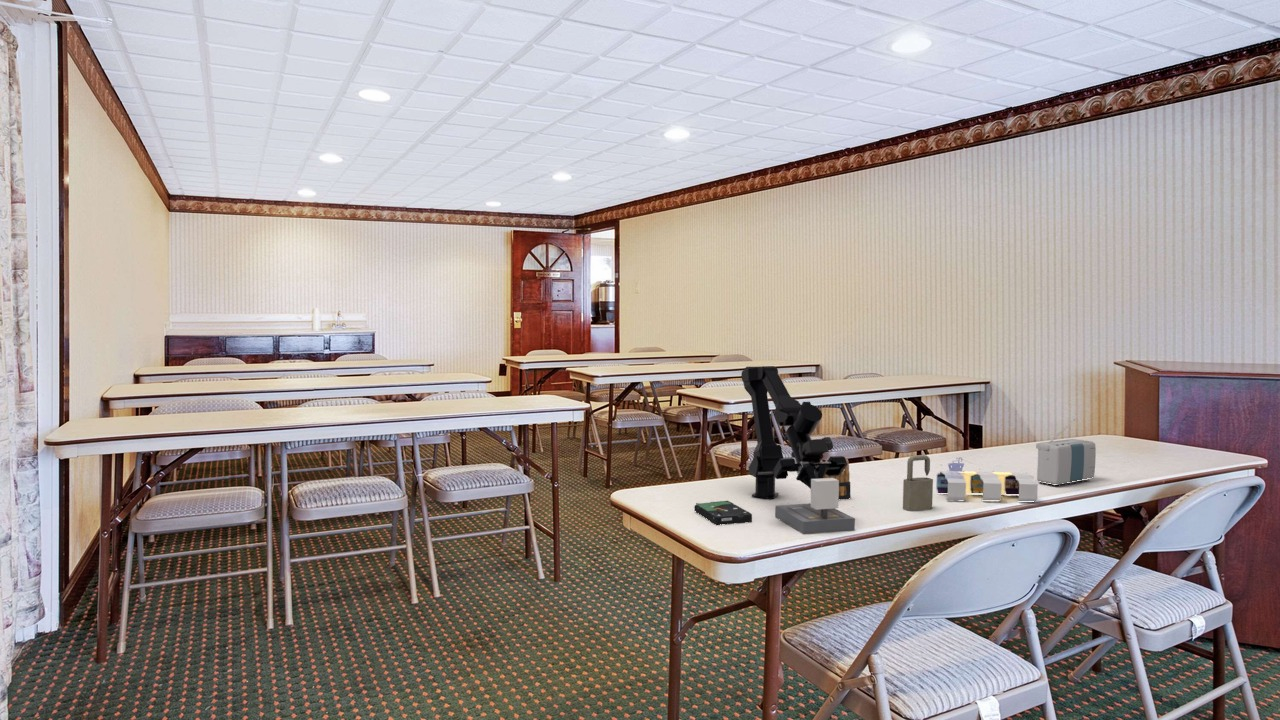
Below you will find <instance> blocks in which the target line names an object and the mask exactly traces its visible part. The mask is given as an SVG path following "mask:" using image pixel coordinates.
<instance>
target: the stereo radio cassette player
mask: <svg viewBox="0 0 1280 720" xmlns="http://www.w3.org/2000/svg"><path fill="white" fill-rule="evenodd" d="M1074 421H1076V419H1075V418H1073V420H1072V421H1071V422H1070V423H1068V424H1067V425H1066V426H1065V427H1064V428H1062V429H1061V430H1060V431H1059V432H1057V434H1056V435H1055V436H1054V437H1052V438H1051V440H1049V441H1044V442H1036V444H1035V448H1036V450H1037V466H1036V467H1037V470H1036V471H1037V472H1036V478H1037V479H1036V481H1037V482H1038V481H1041V482H1046V483H1051V484H1062V483H1067V482H1072V481H1077V480H1082V479H1087V478H1092V477H1095V472H1096V471H1095V470H1096V453H1097V451H1096V449H1097V446H1096V443H1095V442H1094V441H1092V440H1083V439H1076V438H1069V439H1060V440H1055V439H1056V438H1057V437H1058V436H1060V435H1061V434H1062V433H1063V432H1064V431H1065V430H1066V429H1067V428H1068V427H1070V425H1071V424H1072V423H1073V422H1074ZM1092 479H1093V478H1092Z"/></svg>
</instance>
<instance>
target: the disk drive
mask: <svg viewBox="0 0 1280 720" xmlns="http://www.w3.org/2000/svg"><path fill="white" fill-rule="evenodd" d="M693 507H694V512H695V511H696V512H695V513H696V514H698V513H699V514H698V515H700V514H701V515H702V516H701V515H700V516H701V517H703V516H704V517H705V519H706V518H707V519H708V520H707V519H706V520H707V521H709V520H710V521H709V522H711V523H712V522H713V523H714V525H715V524H716V525H715V526H722V524H725V525H732V524H733V525H734V523H737V524H745V522H748V523H753V513H751V512H750V511H747V510H746V509H744V508H742V507H740V506H739V505H736V504H734V503H733V502H731V501H729V500H719V501H710V502H702V503H701V502H696V503H695V505H694V506H693ZM704 517H703V518H704ZM713 523H712V524H713ZM720 524H721V525H720Z"/></svg>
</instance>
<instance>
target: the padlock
mask: <svg viewBox="0 0 1280 720" xmlns="http://www.w3.org/2000/svg"><path fill="white" fill-rule="evenodd" d="M915 461H917V462H918V461H924V468H923V469H924V473H925V476H926V477H924V476H923V477H914V476H913V474H914V473H913V472H914V462H915ZM906 467H907V468H906V470H907V471H906V478H904V479H903V482H902V483H903V487H902V491H903V492H902V509H903V510H905V509H906V510H905V511H909V512H912V511H913V512H914V511H915V512H916V511H917V512H918V510H920V511H928V510H930V508H931V509H933V491H934V490H933V489H934V479H933V478H930V477H928V476H929V473H930V471H931V458H930V457H929V456H928V455H927V454H918V455H917V454H916V455H911V456H909V458H907V464H906ZM927 509H928V510H927Z"/></svg>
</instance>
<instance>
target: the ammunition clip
mask: <svg viewBox="0 0 1280 720" xmlns="http://www.w3.org/2000/svg"><path fill="white" fill-rule="evenodd" d="M845 458H846V460H847V463H848V464H847V466H846V467H845V469H844V470H843V472H842V473H841V475H839V476H828V475H826V474H825V475H824V477H823V478H834V479H837V480H839V498H838V501H840V500H839V499H845V500H850V499H851V498H852V497H851V481H850V463H849V459H848V458H847V457H845ZM827 461H828V459H825V461H823V459H820V462H827ZM849 498H850V499H849Z"/></svg>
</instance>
